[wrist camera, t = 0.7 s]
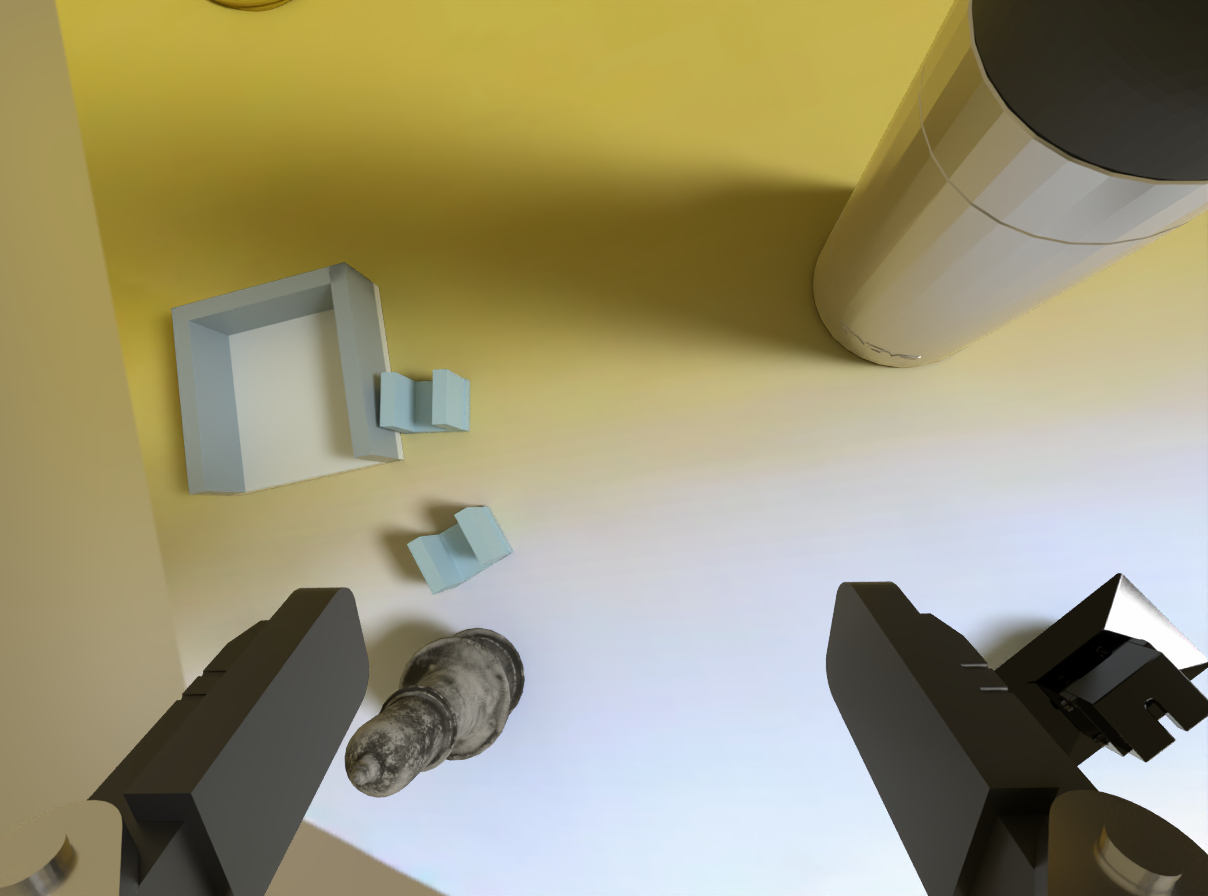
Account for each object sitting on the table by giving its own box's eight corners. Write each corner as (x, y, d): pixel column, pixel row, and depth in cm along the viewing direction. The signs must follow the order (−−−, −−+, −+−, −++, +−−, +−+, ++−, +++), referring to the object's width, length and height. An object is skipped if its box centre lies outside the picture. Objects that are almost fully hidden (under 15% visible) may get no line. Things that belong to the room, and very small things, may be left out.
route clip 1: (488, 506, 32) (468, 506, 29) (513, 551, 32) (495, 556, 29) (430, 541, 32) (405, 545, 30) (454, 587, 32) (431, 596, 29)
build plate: (1031, 813, 27) (1099, 873, 23) (923, 688, 29) (967, 722, 24) (1239, 655, 27) (1351, 685, 22) (1120, 534, 28) (1203, 540, 23)
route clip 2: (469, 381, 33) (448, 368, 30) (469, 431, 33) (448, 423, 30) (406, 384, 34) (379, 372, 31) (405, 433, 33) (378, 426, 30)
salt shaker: (528, 735, 31) (429, 880, 19) (426, 728, 31) (271, 861, 20) (531, 625, 31) (437, 697, 19) (431, 620, 32) (283, 687, 20)
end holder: (220, 327, 36) (171, 308, 32) (378, 286, 35) (344, 262, 31) (238, 495, 35) (189, 494, 31) (403, 459, 33) (371, 454, 30)
